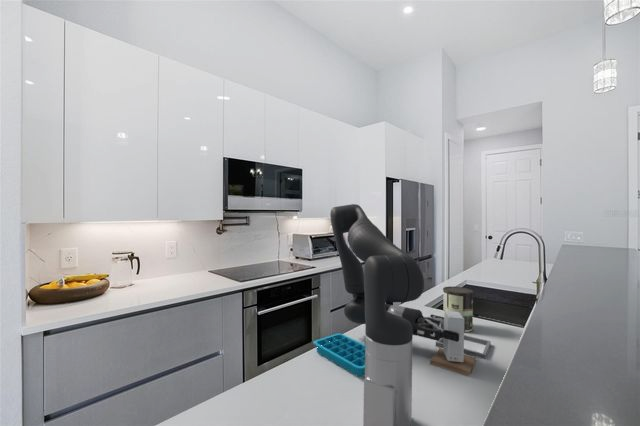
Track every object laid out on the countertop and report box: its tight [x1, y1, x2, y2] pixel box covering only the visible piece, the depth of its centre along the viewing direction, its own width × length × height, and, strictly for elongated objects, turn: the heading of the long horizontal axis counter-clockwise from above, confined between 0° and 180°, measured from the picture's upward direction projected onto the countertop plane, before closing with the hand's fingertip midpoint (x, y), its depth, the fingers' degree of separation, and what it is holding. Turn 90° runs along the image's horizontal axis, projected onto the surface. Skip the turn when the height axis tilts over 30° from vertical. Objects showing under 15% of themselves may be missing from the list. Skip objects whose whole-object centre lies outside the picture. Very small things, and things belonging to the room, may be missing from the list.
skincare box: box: [442, 311, 465, 362], centre depth 83 cm, size 6×4×12 cm
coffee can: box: [442, 286, 474, 333], centre depth 110 cm, size 10×10×14 cm
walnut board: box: [429, 347, 477, 377], centre depth 83 cm, size 10×10×1 cm
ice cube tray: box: [312, 333, 365, 377], centre depth 85 cm, size 12×20×3 cm, turn 39°
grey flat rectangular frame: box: [435, 334, 492, 360], centre depth 95 cm, size 12×14×1 cm
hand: (461, 333), depth 82 cm, fingers closed on skincare box, 7 cm apart
